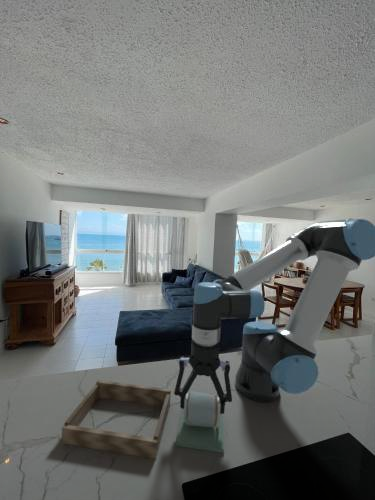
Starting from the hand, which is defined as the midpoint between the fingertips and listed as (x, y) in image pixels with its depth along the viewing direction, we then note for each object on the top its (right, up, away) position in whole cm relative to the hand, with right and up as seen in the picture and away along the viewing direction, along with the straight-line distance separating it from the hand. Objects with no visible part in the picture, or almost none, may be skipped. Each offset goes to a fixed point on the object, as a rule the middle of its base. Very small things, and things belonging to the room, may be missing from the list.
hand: (201, 420), depth 60 cm
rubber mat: (0, -2, 0) cm, 2 cm away
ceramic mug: (0, 0, +1) cm, 1 cm away
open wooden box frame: (-22, -1, +1) cm, 22 cm away
